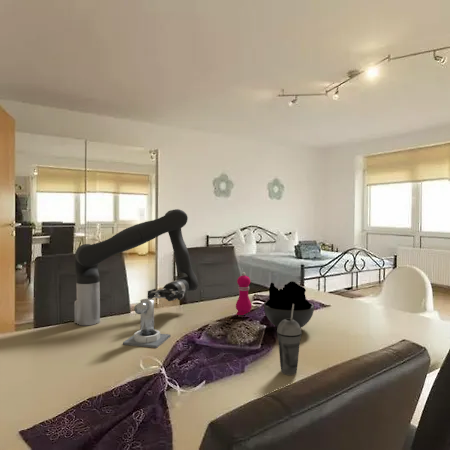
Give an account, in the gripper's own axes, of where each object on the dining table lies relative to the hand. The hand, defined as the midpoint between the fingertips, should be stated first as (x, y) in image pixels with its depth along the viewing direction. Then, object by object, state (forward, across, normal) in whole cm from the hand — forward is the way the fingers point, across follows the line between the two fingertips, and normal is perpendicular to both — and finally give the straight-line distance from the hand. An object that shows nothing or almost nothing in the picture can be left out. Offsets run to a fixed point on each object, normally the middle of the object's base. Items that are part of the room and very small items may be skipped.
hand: (158, 297), depth 144 cm
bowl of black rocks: (-15, +50, +12) cm, 53 cm away
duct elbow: (+12, +1, +13) cm, 18 cm away
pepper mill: (-29, +28, +12) cm, 43 cm away
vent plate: (+11, 0, +13) cm, 17 cm away
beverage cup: (+25, +52, +13) cm, 59 cm away
